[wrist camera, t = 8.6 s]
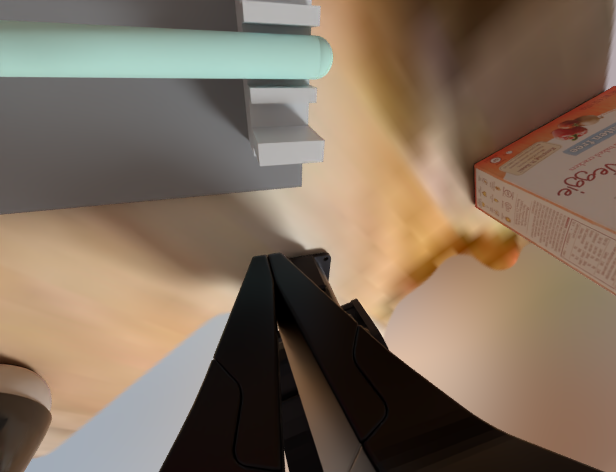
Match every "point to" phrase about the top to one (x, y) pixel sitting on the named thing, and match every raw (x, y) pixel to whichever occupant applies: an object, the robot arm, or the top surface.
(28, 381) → the pump dispenser
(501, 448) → the robot arm
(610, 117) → the cracker box
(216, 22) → the board
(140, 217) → the top surface
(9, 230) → the top surface
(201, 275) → the top surface
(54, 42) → the pale teal rod
